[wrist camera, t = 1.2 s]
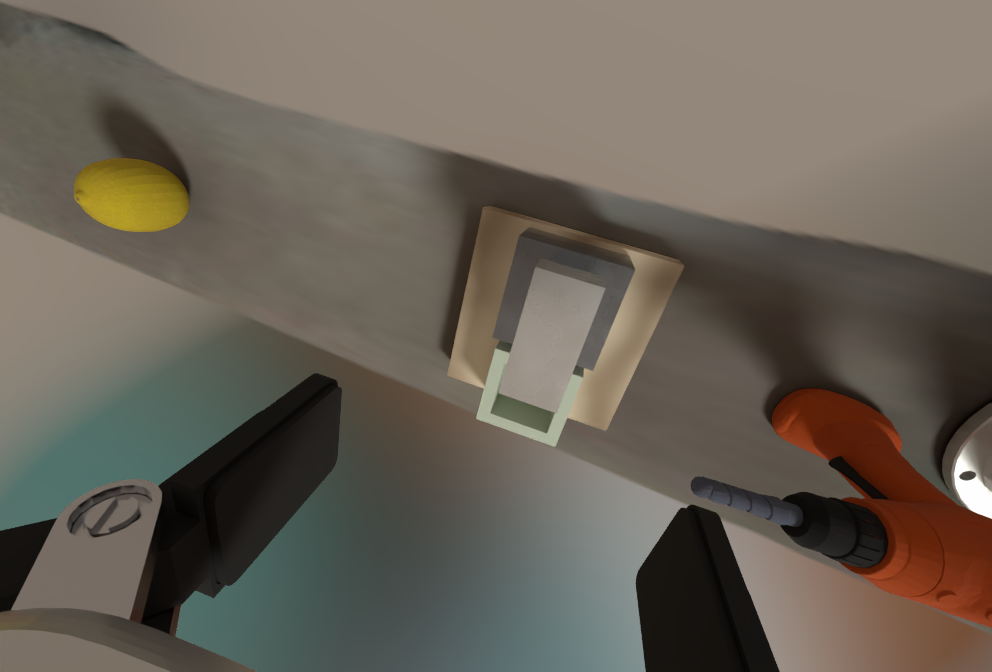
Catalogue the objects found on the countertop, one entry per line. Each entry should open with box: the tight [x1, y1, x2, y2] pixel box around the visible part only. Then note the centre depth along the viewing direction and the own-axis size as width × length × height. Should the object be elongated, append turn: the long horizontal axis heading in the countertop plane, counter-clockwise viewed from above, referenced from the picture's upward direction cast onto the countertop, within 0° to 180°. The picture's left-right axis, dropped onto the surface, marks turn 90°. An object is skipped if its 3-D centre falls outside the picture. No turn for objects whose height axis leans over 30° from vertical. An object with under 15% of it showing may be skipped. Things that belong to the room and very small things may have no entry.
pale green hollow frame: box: [476, 340, 584, 447], centre depth 28 cm, size 6×6×4 cm
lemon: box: [74, 158, 190, 232], centre depth 30 cm, size 6×6×8 cm
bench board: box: [447, 206, 684, 431], centre depth 29 cm, size 14×14×2 cm
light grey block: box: [499, 258, 606, 413], centre depth 22 cm, size 7×3×10 cm, turn 167°
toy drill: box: [691, 388, 992, 628], centre depth 22 cm, size 5×19×15 cm, turn 74°
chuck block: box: [492, 227, 635, 371], centre depth 25 cm, size 7×7×4 cm
